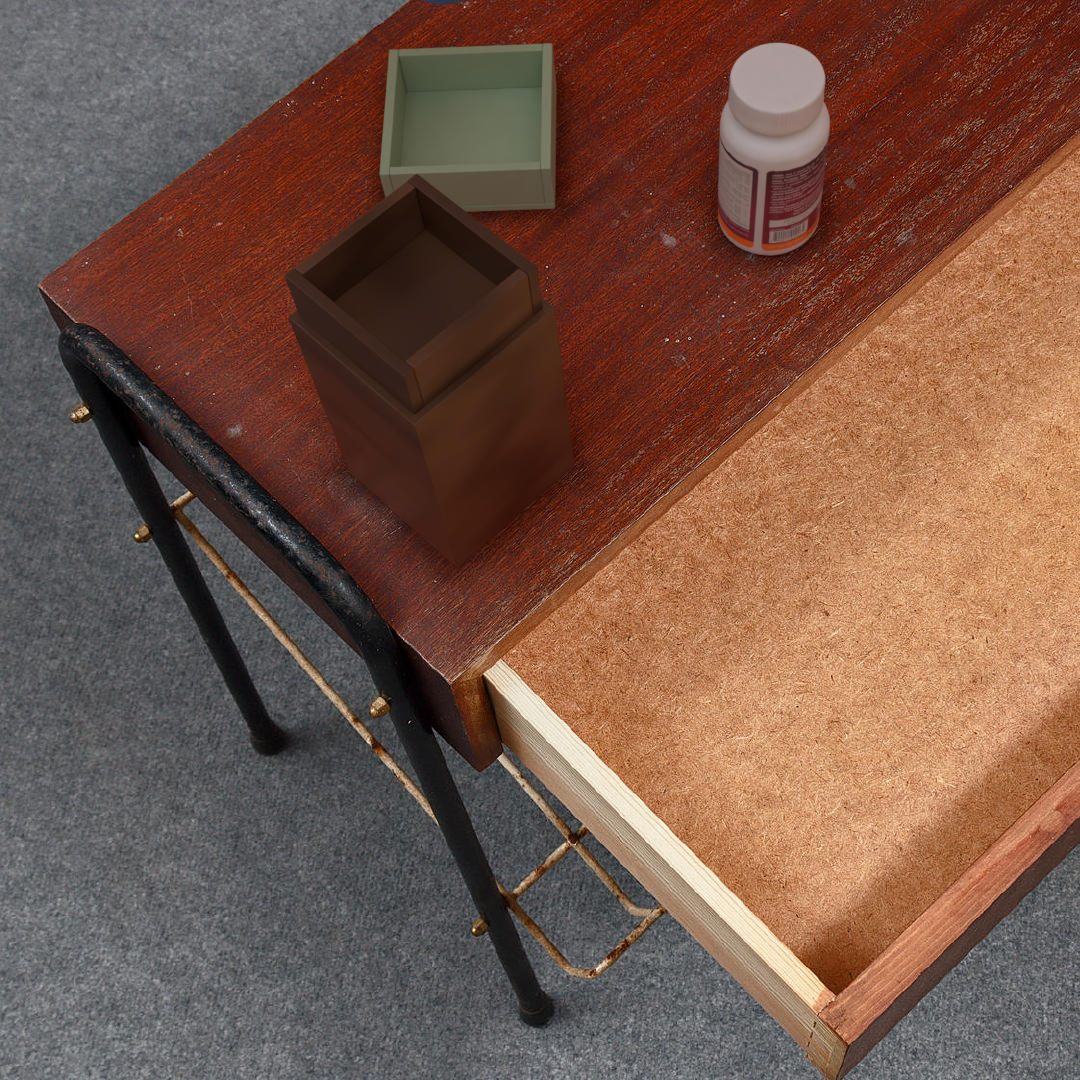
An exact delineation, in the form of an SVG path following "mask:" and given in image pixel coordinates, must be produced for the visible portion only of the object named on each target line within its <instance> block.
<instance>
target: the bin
mask: <svg viewBox="0 0 1080 1080" xmlns="http://www.w3.org/2000/svg"><path fill="white" fill-rule="evenodd" d="M387 62H388V63H387V74H386V86H385V87H386V88H385V99H384V100H385V101H384V102H385V103H384V110H383V122H382V123H383V124H382V125H383V126H382V136H381V150H380V163H379V174H378V175H379V178H380V182H381V187H382V190H383V193H384V198H386V197H387V196H388V195H390V194H391V193H392V192H393V191H395V190H396V189H397V188H399V187H400V186H401V185H403V184H404V183H405V182H407V181H408V180H409V179H410V178H411V177H413V176H414V175H415V174H418V175H419V176H421V177H422V178H423V179H425V180H426V181H427V182H428V183H430V184H431V185H432V186H434V187H435V188H436V189H437V190H439V191H440V192H441V193H443V194H444V195H445V196H447V197H448V198H449V199H450V200H452V201H453V202H454V203H456V204H457V205H458V206H459V207H461V208H462V209H463V210H465V211H466V212H467V213H471V212H473V213H474V212H499V211H500V212H501V211H502V212H504V211H531V210H554V209H556V177H557V176H556V173H557V170H556V169H557V168H556V166H557V165H556V164H557V88H558V87H557V77H556V67H555V66H556V65H555V56H554V47H553V43H552V42H549V43H547V42H545V43H544V42H543V43H526V44H501V45H500V44H498V45H497V44H496V45H474V46H473V45H472V46H471V45H470V46H449V47H447V46H446V47H425V48H424V47H423V48H422V47H421V48H420V47H419V48H399V49H397V48H396V49H394V48H393V49H389V51H388V60H387Z"/></svg>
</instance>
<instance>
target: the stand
mask: <svg viewBox="0 0 1080 1080" xmlns="http://www.w3.org/2000/svg"><path fill="white" fill-rule="evenodd" d="M284 279H285V283H286V285H287V287H288V290H289V292H290V294H291V298H292V300H293V303H294V305H295V308H296V310H295V311H293V312H292V313H291V314H289V315H288V317H287V318H288V320H289V323H290V326H291V328H292V331H293V333H294V336H295V339H296V341H297V343H298V346H299V349H300V352H301V354H302V356H303V359H304V362H305V364H306V366H307V369H308V372H309V374H310V377H311V379H312V381H313V385H314V386H315V390H316V393H317V394H318V397H319V399H320V402H321V404H322V407H323V410H324V412H325V415H326V417H327V420H328V423H329V425H330V428H331V430H332V433H333V435H334V438H335V441H336V443H337V445H338V447H339V450H340V453H341V455H342V459H343V460H344V461H343V462H344V463H345V465H346V468H347V471H348V472H349V473H350V475H352V476H353V477H354V478H355V479H356V480H357V481H358V482H360V483H361V485H363V486H364V487H365V489H368V491H369V492H371V493H372V494H373V495H374V496H375V497H377V499H379V500H380V501H381V502H382V503H383V504H384V505H385V506H386V507H387V508H388V509H390V511H392V512H393V513H394V514H395V515H396V516H398V518H400V519H401V520H402V521H403V522H404V523H405V524H406V525H407V526H408V527H410V528H411V530H413V531H414V532H415V533H416V534H417V535H419V536H420V537H421V538H422V539H423V540H424V541H425V542H426V543H428V544H429V545H430V546H431V547H432V548H433V549H434V550H436V552H438V553H439V554H440V555H441V556H442V557H443V558H444V559H445V560H447V562H449V563H450V564H451V565H452V566H453V567H454V568H456V569H459V568H460V567H461V566H462V565H463V564H465V563H466V561H467V560H469V559H470V558H471V557H472V556H474V555H475V554H476V553H477V552H478V551H479V550H480V549H481V548H483V547H484V546H485V545H486V544H487V543H488V542H489V541H490V540H492V539H493V538H494V537H495V536H496V535H497V534H498V533H499V532H501V531H502V530H503V529H504V528H505V527H506V526H507V525H508V524H509V523H511V522H512V521H513V520H514V519H516V517H518V516H519V515H520V514H521V513H523V511H524V510H525V509H526V508H528V507H529V506H530V505H531V504H532V503H534V502H535V501H536V500H537V499H538V498H539V497H540V496H541V495H542V494H543V493H544V492H547V490H548V489H549V488H550V487H551V486H553V485H554V484H555V483H556V482H557V481H558V480H559V479H561V478H562V477H563V476H564V475H565V474H566V473H567V472H569V471H570V470H571V469H572V468H573V467H575V457H574V450H573V449H574V448H573V442H572V441H573V440H572V435H571V434H572V432H571V425H570V418H569V417H570V416H569V410H568V402H567V401H568V400H567V394H566V386H565V378H564V370H563V362H562V361H563V360H562V353H561V346H560V338H559V330H558V321H557V314H556V307H554V306H553V305H552V304H550V303H549V302H548V301H547V300H545V299H544V298H543V297H542V291H541V284H540V283H541V282H540V276H539V268H538V266H537V265H536V264H535V263H533V262H532V261H530V259H528V258H526V257H525V256H524V255H523V254H522V253H520V252H519V251H518V250H516V249H515V248H513V246H511V245H510V244H509V243H507V242H506V241H505V240H503V239H502V238H501V237H500V236H498V235H497V233H494V231H491V230H490V229H489V228H488V227H486V226H485V225H484V224H483V223H482V222H480V221H479V220H478V219H476V218H475V217H474V216H472V215H471V214H470V213H469V212H466V211H465V210H463V209H462V208H461V207H459V206H458V205H457V204H456V203H454V202H453V201H452V200H450V199H449V198H448V197H447V196H445V195H444V194H443V193H441V192H440V191H439V190H437V189H436V188H435V187H434V186H432V185H431V184H430V183H428V182H427V181H426V180H425V179H423V178H422V177H421V176H419V175H418V174H415V175H414V176H413V177H411V178H410V179H409V180H408V181H407V182H405V183H404V184H403V185H401V186H400V187H399V188H397V189H396V190H395V191H393V192H392V193H391V194H390V195H388V196H387V197H384V198H383V199H382V200H380V201H379V202H378V203H376V204H375V205H374V206H372V207H371V208H369V210H367V211H366V212H365V213H364V214H362V215H361V216H360V217H358V218H357V219H356V220H354V221H353V222H352V223H351V224H349V225H348V226H347V227H345V228H344V229H342V231H340V232H339V233H337V234H336V235H335V236H334V237H332V238H331V239H329V240H328V241H327V242H326V243H324V244H323V245H321V246H320V247H319V248H318V249H317V250H316V251H314V252H312V253H311V254H310V255H309V256H308V257H306V258H305V259H304V260H302V261H301V262H300V263H298V264H297V265H296V266H295V267H294V268H292V269H291V270H289V271H288V272H287V273H285V274H284Z"/></svg>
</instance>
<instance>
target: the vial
mask: <svg viewBox="0 0 1080 1080" xmlns="http://www.w3.org/2000/svg"><path fill="white" fill-rule="evenodd" d="M421 1H422V2H425V3H428V4H433V5H438V6H439V5H440V6H442V5H444V6H447V5H456V4H459V3H463V2H466V1H467V0H421Z"/></svg>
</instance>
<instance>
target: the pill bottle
mask: <svg viewBox="0 0 1080 1080" xmlns="http://www.w3.org/2000/svg"><path fill="white" fill-rule="evenodd" d="M825 87H826V73H825V70H824V67H823V65H822V63H821V61H820V60H819V59H818V58H817V57H816V56H815V55H814V54H813V53H812V52H810V51H808V50H807V49H806V48H803V47H802V46H799V45H796V44H790V43H786V42H769V43H764V44H759V45H757V46H754V47H753V48H752V47H751V48H750V49H749V50H746V51H745V52H744V53H742V54H741V55H740V56H739V57H738V58H737V59H736V61H735V62H734V64H733V65H732V68H731V71H730V76H729V88H728V97H727V101H726V103H725V104H724V106H723V108H722V112H721V115H720V121H719V147H718V148H719V150H718V151H719V152H718V179H717V180H718V181H717V183H718V184H717V187H718V188H717V220H718V223H719V226H720V229H721V231H722V233H723V235H725V237H726V238H727V239H728V240H729V241H730V242H731V243H732V244H734V245H735V246H736V247H737V248H739V249H741V250H743V251H744V252H748V253H751V254H755V255H761V256H779V255H784V254H786V253H787V254H788V253H790V252H793V251H794V250H796V249H798V248H799V247H801V246H803V245H805V243H806V242H808V241H809V239H810V238H811V237H812V236H813V234H814V233H815V231H816V229H817V227H818V225H819V220H820V215H821V208H822V197H823V191H824V190H823V189H824V181H825V170H826V164H827V163H826V162H827V154H828V145H829V140H830V139H829V138H830V130H831V129H830V127H831V118H830V114H829V109H828V108H827V105H826V102H824V101H825V90H826V89H825Z"/></svg>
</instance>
